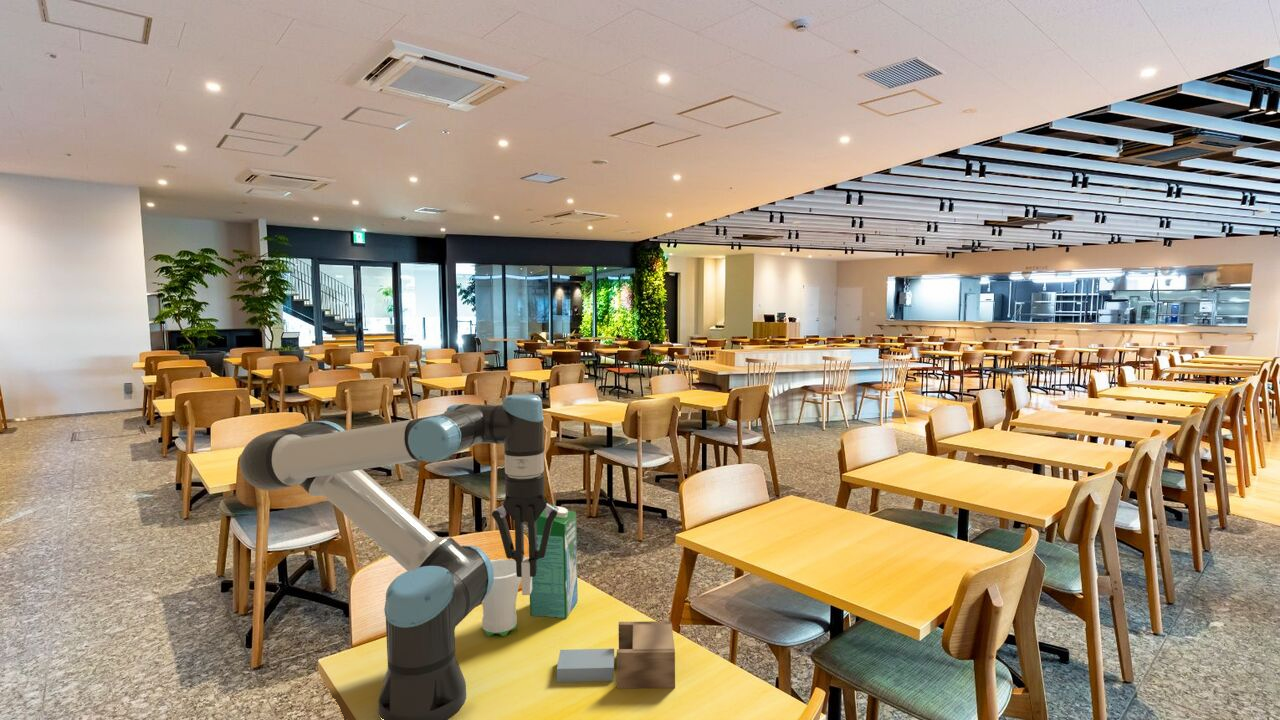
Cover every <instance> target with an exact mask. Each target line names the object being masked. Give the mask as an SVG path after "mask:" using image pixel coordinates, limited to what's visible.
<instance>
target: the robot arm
mask: <svg viewBox="0 0 1280 720" xmlns="http://www.w3.org/2000/svg"><path fill="white" fill-rule="evenodd" d="M544 421H545V419H544V412H543V402H542V398H541V396H539V395H536V394H531V393H530V394H529V393H528V394H526V393H525V394H523V393H522V394H510V395H506V396H505V397H503V401H502V404H498V405H492V404H470V403H462V404H452V405H450V406H448V407H447V408H446V410H445V411H444V412H443V413H441V414H435V415H431V416H425V417H418V418H414V419H408V420H407V419H406V420H401V421H395V422H390V423H383V424H377V425H371V426H365V427H359V428H354V429H347V430H345V429H344V428H343V427H342V426H341V425H339V424H337V423H335V422H332V421H327V420H312V421H306V422H304V423H300V424H298V425H295V426H290V427H284V428H280V429H275V430H271V431H267V432H264V433H262V434H259V435H257V436H255V437H254V438H253V439H251V440H250V441H249V442H248V443H247V444H246V445H245V447H244V448H243V451H242V452H241V455H240V459H239V468H240V472H241V474H242V476H243V479H244V480H246V482H247V483H248V484H249V485H251V486H253V487H254V488H256V489H259V490H263V491H269V492H270V491H271V492H272V491H278V490H283V489H286V488H290V487H294V486H300V487H301V488H302V489H303V490H304V491H305V492H307V493H308V494H309V496H311V497H319V496H320V497H324V498H326V500H328V501H329V502H330V503H331V504H332V505H333V506H335V507H336V508H337V509H338V510H339V511H340V512H341V513H342V514H343V515H345V516H346V518H348V519H349V520H350V521H351V522H352V523H353V524H355V526H357V528H359V529H360V530H362V531H363V533H364V534H366V535H367V536H368V537H369V538H370V539H371V540H372V541H373V542H375V543H376V544H377V545H378V546H379V547H380V548H382V550H383V551H385V552H386V553H387V554H388V555H389V556H391V557H392V558H393V559H394V560H395V561H396V562H397V563H398V564H399V565H400V566H401V567H402V568H403V569H405V570H406V571H405V572H403V573H401V574H400V575H398V576H396V577H395V578H394V579H393V580H392V581H391V582H390V583H389V585H388V587H387V589H386V591H385V592H386V593H385V603H384V617H385V630H386V655H387V670H386V673H385V676H384V680H383V683H382V687H381V690H380V693H379V696H378V716H379V715H380V717H381V718H382V719H384V720H448V719H449V718H451V717H452V716H454V715H455V714H456V713H457V712H458V711H460V709H461V708H462V707H463V706H464V704H465V702H466V699H467V683H466V679H465V677H464V675H463V672H462V669H461V666H460V664H459V662H458V659H457V656H456V639H455V638H456V637H455V636H456V633H455V631H456V630H455V629H456V627H457V626H458V625H459V624H460V623H461V622H463V620H464V619H465V618H466V617H467V616H468V615H469V614H470V613H471V612H472V611H473V610H474V609H476V608H477V607H479V605H481V604H482V601H483V600H484V598H485V597H486V595H487V594H488V593H489V591H490V589H491V587H492V584H493V579H494V576H493V575H494V574H493V566H492V563H491V559H490V558H489V556H488V555H487V552H485V551H483V550H482V549H481V548H479V547H477V546H474V545H460V544H459V543H458V542H457V541H456V540H455V539H454V538H453V537H451V536H444V537H442V536H438V535H437V534H436V532H433V531H432V530H431V529H430V527H428V526H427V525H426V524H424V523H423V522H422V521H421V520H420V519H419V518H418V517H417V516H416V515H414V513H412V512H411V511H410V510H409V509H407V507H406V506H404V505H403V504H402V503H401V502H400V501H398V499H396V498H395V497H394V496H393V495H392V494H391V493H389V491H387V490H386V489H385V488H384V487H383V486H382V485H380V484H379V483H378V482H377V481H376V480H375V479H374V478H372V477H371V476H370V475H369V474H368V473H367V472H365V469H366V470H367V469H368V470H369V469H373V468H379V467H385V466H391V465H392V466H393V465H398V464H405V463H411V462H418V461H419V462H420V461H423V462H427V463H433V462H438V461H442V460H447V459H448V458H450V457H452V456H453V455H455V454H458V453H460V452H461V451H464V450H466V449H469V448H471V447H473V446H476V445H478V444H498V445H499V444H500V445H501V444H503V449H504V473H505V474H506V476H505V477H504V482H505V483H504V488H505V489H504V491H505V493H504V494H505V498H504V500H503V502H502V505H501V506H499V507H495V508H494V510H493V511H492V513H491V516H492V518H493V519H494V520H495V521H496V524H497V528H498V531H499V534H500V537H501V542H502V546H503V549H504V553H505V557H506V559H510V560H515V561H516V575H517V577H522V581H521V595H522V596H530V594H531V591H532V577H535V576H536V573H537V559H539V558H543V557H544V556H545V553H546V550H547V545H548V541H549V536H550V532H551V528H552V523H553V520H554V518H555V517H556V515H557V513H558V508H557V507H552V506H550V505H549V504H550V503H548V499H547V498H546V495H545V475H544V474H543V472H544V471H545V452H544V449H545V448H544ZM547 503H548V504H547ZM544 509H545V511H546V513H545V516H546V517H547V520H546V523H545V527H544V531H543V536H542V540H541V545H540V549H539V550H538V551H537V526H536V524H537V519H538V517H539V516H540V515H541V513H542V512H543V510H544ZM507 514H508V515H509V516H510V518H511V519H512V520H513V522H514V523H513V525H514V542H515V543H513V539H512V536H511V532H510V528H509V525H508V521H507V517H506V516H507ZM524 522H525V523H527V528H528V529H527V530H528V533H527V535H528V557H527V556H525V557H524V555H525V543H524V541H525V535H524V534H525V533H524V530H525V529H524ZM514 544H515V545H514ZM380 717H379V718H380Z"/></svg>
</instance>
